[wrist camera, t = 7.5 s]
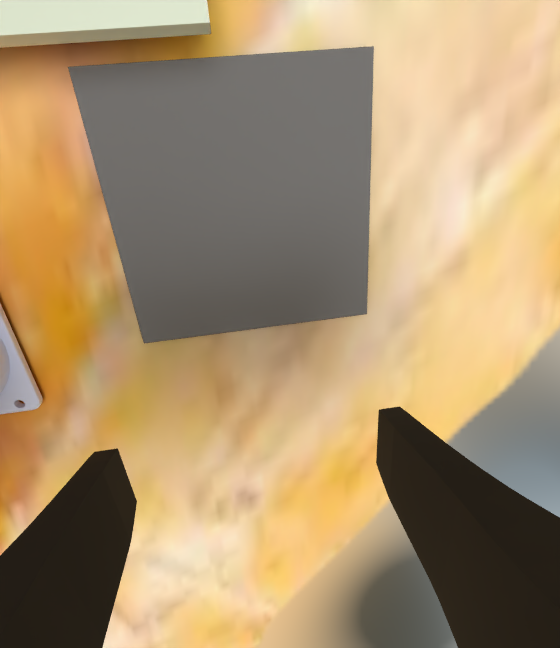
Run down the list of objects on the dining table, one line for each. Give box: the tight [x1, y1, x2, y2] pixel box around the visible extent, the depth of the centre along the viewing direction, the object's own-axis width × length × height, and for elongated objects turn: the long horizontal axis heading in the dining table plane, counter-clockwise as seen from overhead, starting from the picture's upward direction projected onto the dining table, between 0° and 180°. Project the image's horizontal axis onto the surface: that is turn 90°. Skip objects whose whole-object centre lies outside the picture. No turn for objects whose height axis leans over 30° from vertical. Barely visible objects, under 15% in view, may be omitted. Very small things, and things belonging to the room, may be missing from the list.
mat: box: [68, 46, 374, 343], centre depth 17 cm, size 12×12×1 cm
